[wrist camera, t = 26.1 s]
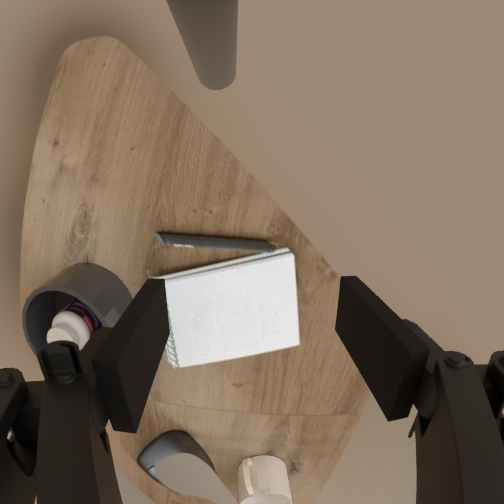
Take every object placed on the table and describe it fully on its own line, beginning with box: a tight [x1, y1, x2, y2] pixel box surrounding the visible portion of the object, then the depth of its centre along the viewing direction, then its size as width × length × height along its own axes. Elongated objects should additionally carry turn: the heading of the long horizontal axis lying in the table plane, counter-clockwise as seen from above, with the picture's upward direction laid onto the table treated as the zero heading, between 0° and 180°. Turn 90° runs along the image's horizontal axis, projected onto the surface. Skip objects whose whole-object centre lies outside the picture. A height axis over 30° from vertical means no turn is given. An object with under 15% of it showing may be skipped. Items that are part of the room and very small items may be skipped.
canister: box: [22, 263, 132, 356], centre depth 36 cm, size 13×13×9 cm
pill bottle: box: [47, 298, 103, 350], centre depth 35 cm, size 5×5×10 cm
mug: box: [238, 455, 292, 504], centre depth 45 cm, size 12×9×9 cm
